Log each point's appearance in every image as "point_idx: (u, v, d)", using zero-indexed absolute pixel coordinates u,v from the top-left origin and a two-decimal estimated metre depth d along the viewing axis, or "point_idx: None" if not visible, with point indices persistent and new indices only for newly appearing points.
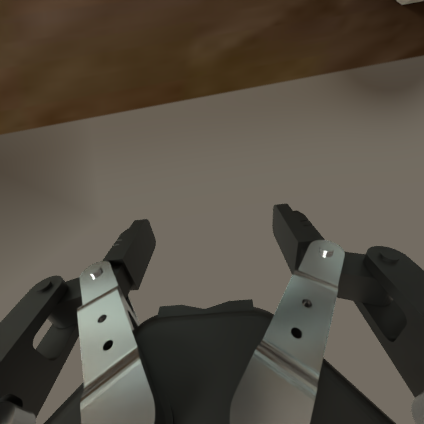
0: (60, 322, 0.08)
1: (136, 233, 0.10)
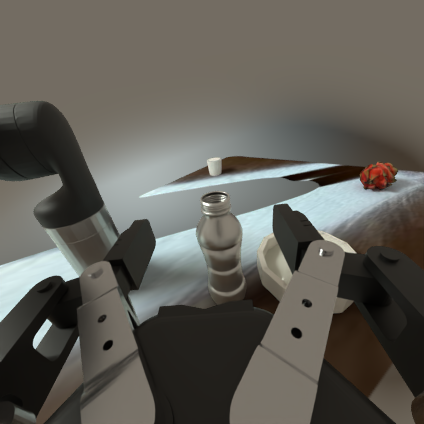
0: (60, 322, 0.08)
1: (136, 233, 0.10)
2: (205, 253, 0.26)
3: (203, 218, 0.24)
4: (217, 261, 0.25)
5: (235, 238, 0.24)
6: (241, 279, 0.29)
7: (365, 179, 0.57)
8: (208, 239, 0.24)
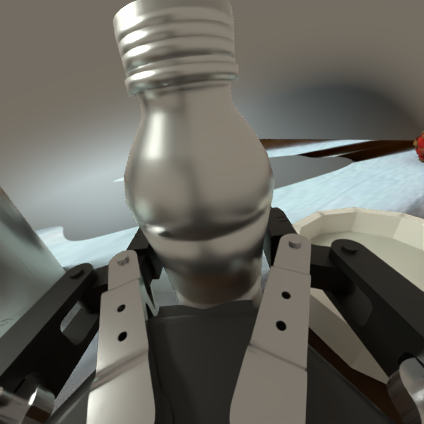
0: (87, 308, 0.08)
1: None
2: (155, 250, 0.08)
3: None
4: (192, 276, 0.08)
5: (254, 193, 0.06)
6: None
7: None
8: (150, 193, 0.06)
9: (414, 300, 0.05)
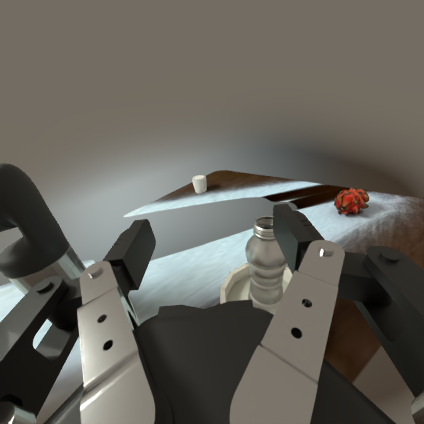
0: (60, 322, 0.08)
1: (136, 233, 0.10)
2: (255, 270, 0.29)
3: (255, 240, 0.27)
4: (266, 278, 0.28)
5: (284, 258, 0.27)
6: (282, 292, 0.32)
7: (338, 205, 0.58)
8: (261, 259, 0.27)
9: None
